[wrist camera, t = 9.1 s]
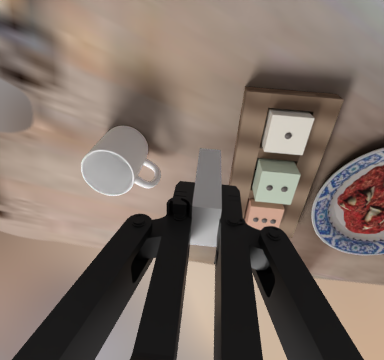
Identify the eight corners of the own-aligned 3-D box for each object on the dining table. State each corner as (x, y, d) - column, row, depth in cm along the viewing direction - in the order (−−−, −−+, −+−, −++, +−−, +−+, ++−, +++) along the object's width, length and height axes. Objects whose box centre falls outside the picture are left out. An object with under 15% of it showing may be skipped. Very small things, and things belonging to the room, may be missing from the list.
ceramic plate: (283, 190, 51) (287, 199, 48) (433, 107, 40) (448, 113, 38) (342, 263, 60) (347, 274, 58) (476, 211, 50) (490, 221, 47)
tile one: (267, 105, 42) (272, 114, 38) (306, 108, 41) (314, 118, 38) (260, 140, 45) (264, 151, 41) (295, 143, 45) (302, 155, 41)
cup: (113, 115, 45) (89, 139, 37) (174, 147, 48) (165, 177, 39) (99, 152, 50) (74, 181, 41) (156, 180, 52) (144, 213, 44)
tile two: (258, 157, 45) (262, 171, 41) (294, 161, 45) (300, 175, 41) (252, 186, 48) (254, 201, 44) (285, 190, 48) (290, 205, 44)
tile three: (248, 192, 51) (251, 206, 47) (279, 195, 51) (284, 210, 47) (243, 215, 54) (245, 230, 50) (272, 218, 54) (276, 234, 50)
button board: (245, 86, 41) (246, 91, 38) (336, 94, 40) (343, 99, 38) (222, 220, 56) (223, 230, 54) (288, 227, 56) (291, 238, 53)
